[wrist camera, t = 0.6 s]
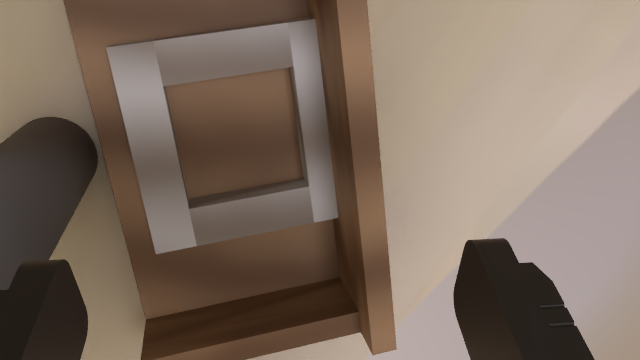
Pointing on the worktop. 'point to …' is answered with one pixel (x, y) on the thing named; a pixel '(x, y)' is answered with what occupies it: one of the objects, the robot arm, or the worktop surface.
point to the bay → (242, 169)
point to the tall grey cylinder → (40, 189)
